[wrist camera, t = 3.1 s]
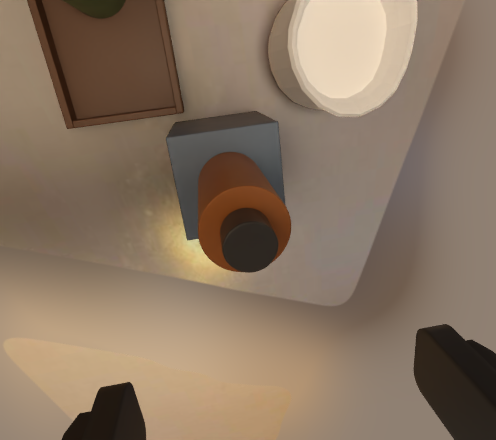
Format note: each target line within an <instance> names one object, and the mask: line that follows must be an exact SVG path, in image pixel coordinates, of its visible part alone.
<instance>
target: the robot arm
mask: <svg viewBox="0 0 496 440" xmlns="http://www.w3.org/2000/svg"><path fill="white" fill-rule="evenodd" d="M414 376H415V380H416V383H417V385H418V388H419V390H420V392H421V393H422V395H423V396H424V397H425V399H426V400H427V402H428V403H429V405H430V406H431V407H432V409H433V410H434V411H435V413H436V414H437V416H438V417H439V419H440V420H441V421H442V423H443V424H444V426H445V427H446V428H447V430H448V431H449V433H450V434H451V436H452V437H453V438H454V440H496V354H495V353H494V352H493V351H491V350H489V349H488V348H486V347H484V346H482V345H480V344H479V343H477V342H475V341H473V340H467V341H465V340H464V339H463V338H462V337H461V336H460V335H459V334H458V333H457V332H456V331H455V330H454V329H453V328H452V327H451V326H449V325H447V324H443V325H438V326H433V327H428V328H422V329H419V330H418V331H417V335H416V346H415V358H414ZM62 440H146V428H145V422H144V419H143V416H142V413H141V410H140V406H139V403H138V400H137V397H136V394H135V391H134V388H133V385H132V384H131V383H130V382H127V383H122V384H117V385H111V386H106V387H101V388H100V389H99V391H98V393H97V395H96V398H95V401H94V404H93V407H92V410H91V411H90V412H85V413H80V414H79V415H78V416H77V418H76V419H75V420H74V421H73V423H72V424H71V425H70V427H69V428H68V430H67V431H66V432H65V433H64V435H63V438H62Z"/></svg>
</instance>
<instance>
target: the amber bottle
mask: <svg viewBox="0 0 496 440" xmlns="http://www.w3.org/2000/svg"><path fill="white" fill-rule="evenodd" d="M290 233H291V220H290V215H289V212H288V210H287V208H286V206H285V205H284V203H283V202H282V200H281V199H280V197H279V196H278V194H277V193H276V192H275V190H274V189H273V187H272V186H271V184H270V183H269V182H268V180H267V179H266V177H265V176H264V175H263V173H262V172H261V170H260V169H259V167H258V166H257V165H256V163H255V162H254V161H253V160H252V159H250V158H249V157H247V156H246V155H244V154H241V153H237V152H225V153H221V154H218V155H216V156H214V157H213V158H211V159H210V160H209V161H208V162H207V163H206V164H205V165H204V166H203V168H202V170H201V172H200V175H199V179H198V237H199V242H200V245H201V247H202V249H203V251H204V253H205V254H206V255H207V256H208V258H209V259H210V260H211V261H213V262H214V263H215V264H217V265H218V266H220V267H222V268H224V269H227V270H231V271H236V272H256V271H259V270H262V269H264V268H265V267H267V266H268V265H269V264H270V263H272V262H273V261H274V260H275V259H277V258H278V257H279V256H280V254H281V253H282V252H283V250H284V249H285V247H286V245H287V243H288V241H289V237H290Z"/></svg>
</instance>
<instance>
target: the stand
mask: <svg viewBox="0 0 496 440" xmlns="http://www.w3.org/2000/svg"><path fill="white" fill-rule="evenodd" d="M166 141H167V146H168V151H169V156H170V160H171V165H172V170H173V175H174V180H175V184H176V189H177V194H178V199H179V204H180V208H181V213H182V218H183V223H184V228H185V232H186V237H187V240H193V239H199V237H198V179H199V175H200V172H201V170H202V168H203V166H204V165H205V164H206V163H207V162H208V161H209V160H210V159H211V158H213V157H214V156H216V155H218V154H221V153H225V152H237V153H241V154H244V155H246V156H247V157H249V158H250V159H252V160H253V161H254V162H255V163H256V165H257V166H258V167H259V169H260V170H261V172H262V173H263V175H264V176H265V177H266V179H267V180H268V182H269V183H270V184H271V186H272V187H273V189H274V190H275V192H276V193H277V194H278V196H279V197H280V199H281V200H282V202H283V203H284V205H285V196H284V184H283V173H282V162H281V150H280V139H279V127H278V122H277V121H275V120H273V119H271V118H269V117H267V116H265V115H263V114H261V113H259V112H257V111H253V112H246V113H239V114H232V115H225V116H218V117H211V118H204V119H197V120H189V121H182V122H175V124H174V125H173V127H172V129H171V130H170V132H169V134H168V136H167V137H166Z"/></svg>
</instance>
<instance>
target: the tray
mask: <svg viewBox="0 0 496 440" xmlns="http://www.w3.org/2000/svg"><path fill="white" fill-rule="evenodd" d="M27 2H28V5H29V8H30V11H31V14H32V18H33V21H34V24H35V27H36V31H37V34H38V37H39V40H40V43H41V47H42V50H43V53H44V56H45V59H46V63H47V66H48V69H49V72H50V76H51V79H52V82H53V85H54V88H55V92H56V95H57V98H58V101H59V104H60V108H61V111H62V114H63V117H64V121H65V124H66V127H67V129H71V128H78V127H85V126H93V125H100V124H107V123H114V122H121V121H129V120H136V119H143V118H150V117H157V116H165V115H172V114H179V113H183V112H184V107H183V101H182V96H181V90H180V85H179V79H178V74H177V69H176V63H175V58H174V52H173V47H172V41H171V36H170V30H169V25H168V20H167V14H166V9H165V3H164V0H125V3H124V5H123V7H122V8H121V10H120V11H119V12H118V13H116V14H115V15H113V16H111V17H109V18H102V19H100V18H94V17H91V16H88V15H86V14H84V13H83V12H81V11H79V10H78V9H76V8H74V7H73V6H71V5H69V4H68V3H66V2H64V1H63V0H27Z"/></svg>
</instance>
